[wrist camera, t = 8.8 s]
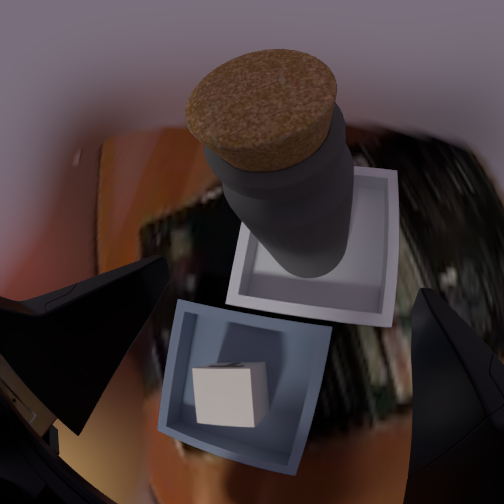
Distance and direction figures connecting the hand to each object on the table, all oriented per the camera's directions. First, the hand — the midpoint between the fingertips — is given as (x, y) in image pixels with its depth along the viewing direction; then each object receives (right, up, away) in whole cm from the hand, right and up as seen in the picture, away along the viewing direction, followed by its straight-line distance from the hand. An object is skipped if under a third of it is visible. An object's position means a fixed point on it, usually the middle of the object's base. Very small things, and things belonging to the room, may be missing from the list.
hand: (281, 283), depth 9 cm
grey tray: (+4, +2, +12) cm, 13 cm away
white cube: (-2, -9, +10) cm, 14 cm away
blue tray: (-2, -9, +11) cm, 14 cm away
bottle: (+4, +2, +12) cm, 13 cm away
